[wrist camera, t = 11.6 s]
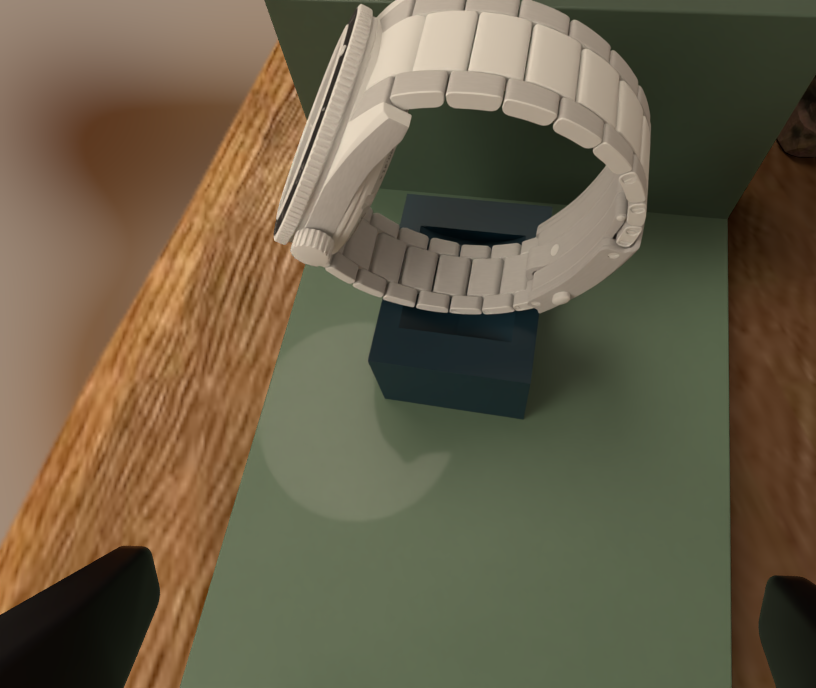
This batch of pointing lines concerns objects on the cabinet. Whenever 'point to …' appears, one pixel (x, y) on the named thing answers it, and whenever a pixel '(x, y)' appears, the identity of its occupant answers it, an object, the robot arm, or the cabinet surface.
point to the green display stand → (544, 415)
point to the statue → (801, 126)
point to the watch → (465, 218)
